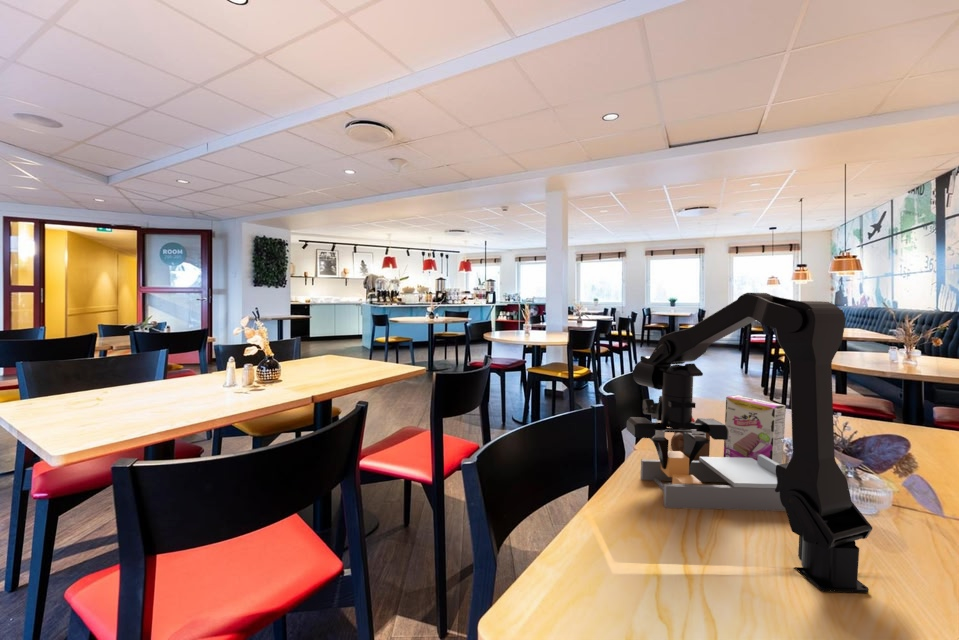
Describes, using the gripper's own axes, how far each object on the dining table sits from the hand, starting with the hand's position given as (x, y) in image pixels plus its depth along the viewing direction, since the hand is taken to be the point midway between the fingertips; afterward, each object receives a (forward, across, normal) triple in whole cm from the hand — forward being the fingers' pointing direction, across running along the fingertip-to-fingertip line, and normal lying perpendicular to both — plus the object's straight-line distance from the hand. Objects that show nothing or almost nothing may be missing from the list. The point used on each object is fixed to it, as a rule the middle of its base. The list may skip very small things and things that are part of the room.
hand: (674, 468), depth 85 cm
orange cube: (+1, 0, 0) cm, 1 cm away
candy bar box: (+5, -24, -13) cm, 28 cm away
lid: (0, -13, +3) cm, 13 cm away
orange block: (+4, 0, +6) cm, 7 cm away
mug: (+5, -8, -12) cm, 15 cm away
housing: (+5, -6, +3) cm, 8 cm away
